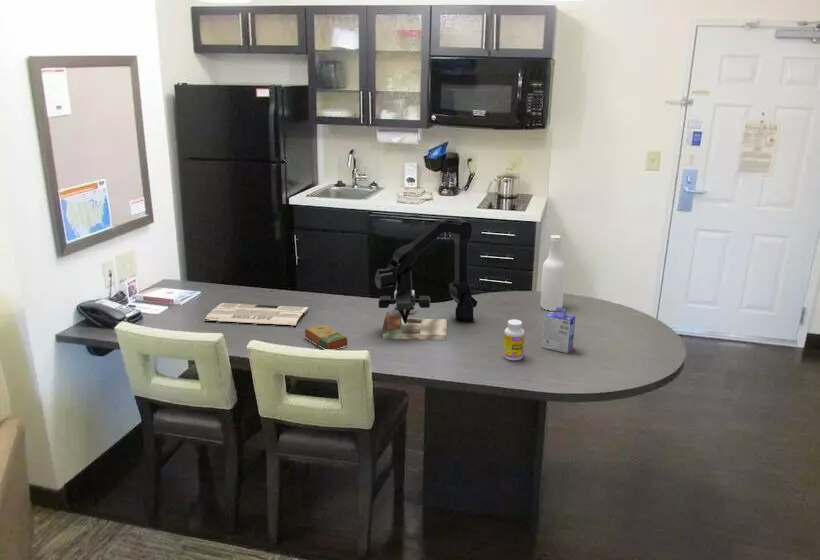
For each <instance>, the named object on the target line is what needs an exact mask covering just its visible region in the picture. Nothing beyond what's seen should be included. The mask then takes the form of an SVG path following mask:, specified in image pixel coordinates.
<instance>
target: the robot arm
mask: <svg viewBox="0 0 820 560" xmlns="http://www.w3.org/2000/svg"><path fill="white" fill-rule="evenodd" d="M444 233H448V234H451V238H452V239H453V242H454V280H453V282H451V283H449V284H448V286H449V291H448V294H450V297H451V298H452V299H453V301H454V302H455V303H456V306H455V312H454V313H455V316H454V317H455V320H456V322H457V323H474V320H475V319H474V308H476V307H477V305H478V301H477V300H476V299H475V298H474V297H473V295H472V290H471V286H470V284H469V280H468V255H469V254H468V251H469V250H468V247H469V246H468V244H469V243H470V240H471V239H472V233H473V226H472V223H470V222H469V221H466V220H463V219H461V218H455V219H440V218H439V219H436V220H435V221H434V223H433V224H432V225H430V226H429V227H428V228H427V229H426V230H425V231H424V232H422V233H421V234H420V235H418V236H417V237H416V238H415V239H414V240H413V241H411V242H410V243H408V244H404V245H403V246H400V247H399V248H397V249H396V250H395V251H394V252H393V254H392V258H391V259H390V261H389V263H388V264H387V267H386V268H378V269H376V273H375V276H374V283H375V285H376V288H377V289H385V288H390V287H394V286H395V290H396V299H394V298H391V296H390V295H381V296H380V297H379V298H378V308H379V309H388V308H389V307H390V305H394V304H395V310H398V311H399V312H400V313H399V314H401V318H402V319H403V321H404V324H406V322H407V319H409V318H408V317H409V316H410V314H409V313H410V311H411V310H413V309H414V305H415V306H416V305H418V307H420V308H421V309H427V308H430V307H431V297H430V295H419V298H416V295H415V296H412V290H413V286H412V285H413V281H412V279H413V278H412V273H413V272H417V271H418V269H417V268H415V267H414V265H413V264H414V263H415V262H416V261H417V259H418V257H419V255H420V254H421V253H422V252H423V251H424V250H425V249H426V248H427V247H428V246H430V245H431V244H432V243H433V242H434V241H435V240H436V239H438V238H439V237H440V236H441V235H442V234H444ZM397 265H398V266H397ZM404 309H405V310H406V313H405V310H404Z"/></svg>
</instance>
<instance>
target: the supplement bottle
mask: <svg viewBox="0 0 820 560" xmlns="http://www.w3.org/2000/svg"><path fill="white" fill-rule="evenodd" d="M522 327H523V322H522V320H520V319H515V318H514V319H513V318H512V319H508V321H507V327H506V328H505V329H504V333H503V334H504V337H503V357H504V358H505V359H507V360H509V361H520V360H521V359H523V357H524V345H525V330H524V329H523V328H522Z"/></svg>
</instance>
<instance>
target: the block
mask: <svg viewBox="0 0 820 560" xmlns="http://www.w3.org/2000/svg"><path fill="white" fill-rule="evenodd" d="M401 318H402V316H401V314H400V313H389V314H388V315H387V329H400V328H401Z"/></svg>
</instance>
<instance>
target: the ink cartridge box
mask: <svg viewBox="0 0 820 560" xmlns="http://www.w3.org/2000/svg"><path fill="white" fill-rule="evenodd" d="M557 310H559V311H557ZM560 310H561V311H563V312H561V311H560ZM566 313H567V308H564V307H562V308H559V307H557V308H556V311H548V312H547V313H546V314H544V315H543V320H542V321H543V323H542V339H541V348H543V349H546V350H547V349H548V350H552V351H556V352H561V353H565V354H568V353H569V352H571V351H572V350H573V349H574V339H575V326H576V325H575V324H576V315H572V314H571V315H570V314H566Z"/></svg>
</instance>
